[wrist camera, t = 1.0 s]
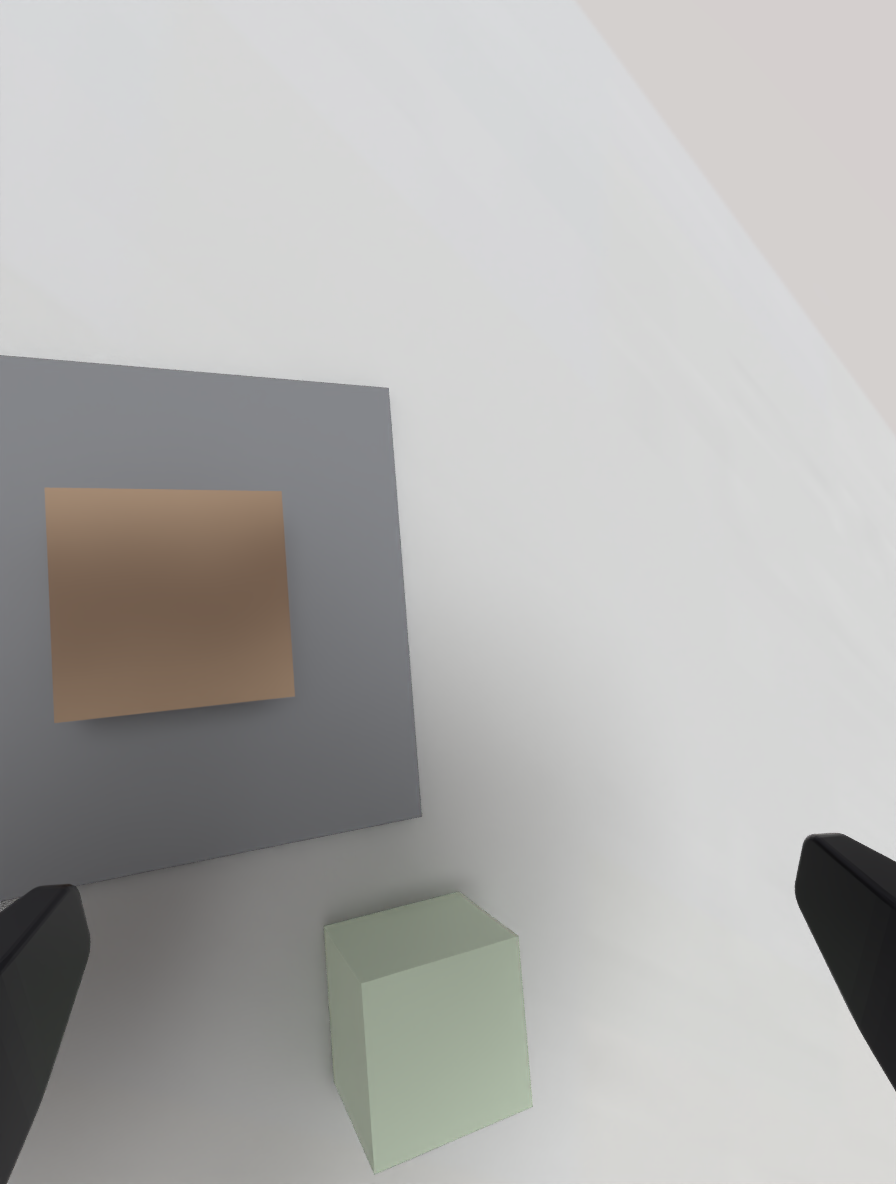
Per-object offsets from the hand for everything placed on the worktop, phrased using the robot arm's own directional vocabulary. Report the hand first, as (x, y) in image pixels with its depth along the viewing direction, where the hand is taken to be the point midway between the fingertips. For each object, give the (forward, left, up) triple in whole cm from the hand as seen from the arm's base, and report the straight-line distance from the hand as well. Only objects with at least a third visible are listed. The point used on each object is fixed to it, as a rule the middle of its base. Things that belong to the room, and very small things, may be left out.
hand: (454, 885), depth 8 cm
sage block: (-8, -3, -13) cm, 15 cm away
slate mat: (+4, +3, -13) cm, 14 cm away
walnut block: (+4, +3, -12) cm, 13 cm away
